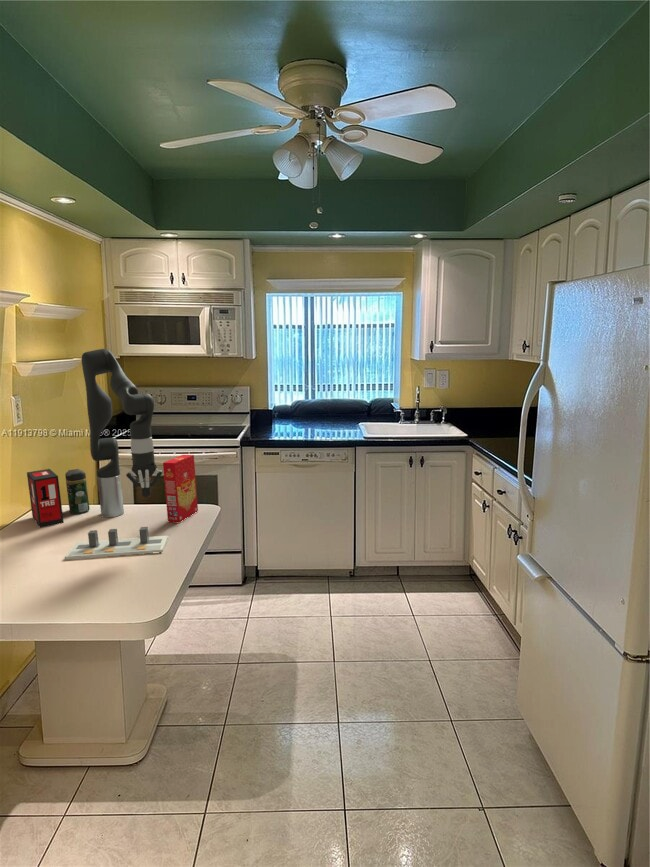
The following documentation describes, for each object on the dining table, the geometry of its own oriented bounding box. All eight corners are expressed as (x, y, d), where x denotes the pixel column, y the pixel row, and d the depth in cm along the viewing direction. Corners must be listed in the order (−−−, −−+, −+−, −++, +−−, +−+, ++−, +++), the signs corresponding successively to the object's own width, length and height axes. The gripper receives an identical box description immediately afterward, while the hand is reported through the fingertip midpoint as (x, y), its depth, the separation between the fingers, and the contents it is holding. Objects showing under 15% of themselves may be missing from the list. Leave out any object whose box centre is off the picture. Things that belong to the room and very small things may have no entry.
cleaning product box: (63, 522, 236) (57, 476, 232) (40, 527, 231) (33, 480, 227) (55, 513, 249) (49, 468, 245) (32, 517, 244) (26, 472, 240)
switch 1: (91, 543, 207) (90, 530, 206) (98, 543, 207) (97, 530, 206) (89, 546, 204) (87, 533, 203) (96, 546, 204) (94, 533, 203)
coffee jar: (67, 510, 253) (62, 469, 249) (86, 506, 257) (82, 466, 254) (72, 515, 245) (67, 473, 241) (91, 511, 249) (87, 470, 246)
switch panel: (77, 545, 210) (76, 540, 210) (168, 538, 214) (168, 534, 214) (65, 560, 197) (64, 555, 196) (162, 552, 200) (162, 548, 200)
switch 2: (142, 540, 209) (140, 527, 208) (148, 539, 209) (147, 526, 208) (140, 543, 206) (139, 529, 205) (147, 542, 206) (146, 529, 205)
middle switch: (111, 542, 208) (110, 529, 207) (118, 541, 208) (116, 528, 207) (109, 545, 205) (107, 532, 204) (116, 544, 205) (114, 531, 204)
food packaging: (179, 523, 231) (174, 463, 226) (167, 522, 233) (162, 462, 228) (198, 511, 245) (193, 455, 240) (187, 510, 246) (183, 454, 242)
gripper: (163, 446, 206) (167, 493, 209) (125, 448, 204) (130, 495, 208) (160, 451, 199) (164, 499, 202) (120, 453, 197) (125, 501, 200)
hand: (146, 497), depth 205 cm, fingers closed
